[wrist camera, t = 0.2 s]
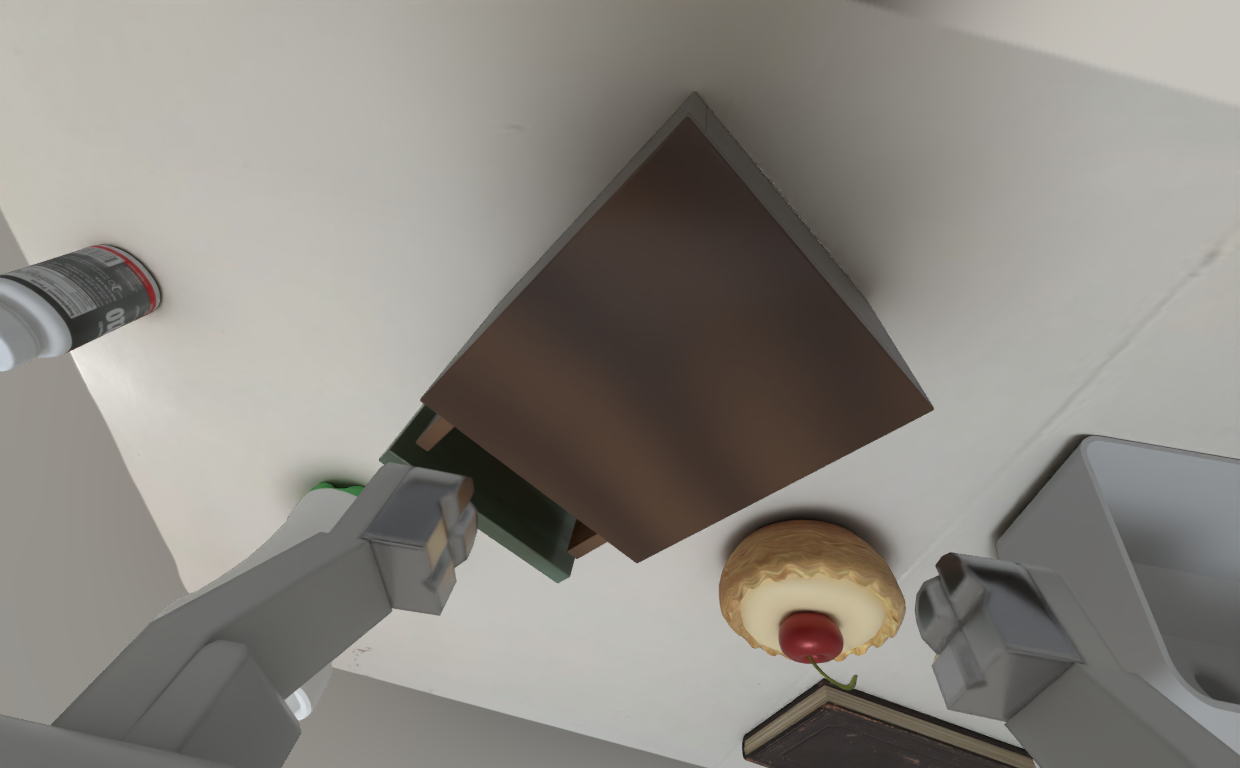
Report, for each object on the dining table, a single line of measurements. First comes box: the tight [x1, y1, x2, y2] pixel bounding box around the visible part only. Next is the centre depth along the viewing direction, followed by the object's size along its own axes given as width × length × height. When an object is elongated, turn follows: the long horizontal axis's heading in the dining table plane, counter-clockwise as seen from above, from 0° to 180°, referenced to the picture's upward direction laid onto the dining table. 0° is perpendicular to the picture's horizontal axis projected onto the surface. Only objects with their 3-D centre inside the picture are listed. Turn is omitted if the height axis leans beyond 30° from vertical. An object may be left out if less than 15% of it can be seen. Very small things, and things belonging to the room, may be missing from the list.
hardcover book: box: [742, 679, 1036, 768], centre depth 51 cm, size 16×23×2 cm
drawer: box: [379, 404, 607, 583], centre depth 28 cm, size 19×12×8 cm, turn 136°
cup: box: [136, 482, 364, 721], centre depth 37 cm, size 11×11×14 cm
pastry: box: [719, 520, 906, 690], centre depth 34 cm, size 12×12×9 cm
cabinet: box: [420, 92, 934, 563], centre depth 24 cm, size 16×14×10 cm
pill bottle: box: [0, 245, 160, 371], centre depth 29 cm, size 5×5×8 cm
